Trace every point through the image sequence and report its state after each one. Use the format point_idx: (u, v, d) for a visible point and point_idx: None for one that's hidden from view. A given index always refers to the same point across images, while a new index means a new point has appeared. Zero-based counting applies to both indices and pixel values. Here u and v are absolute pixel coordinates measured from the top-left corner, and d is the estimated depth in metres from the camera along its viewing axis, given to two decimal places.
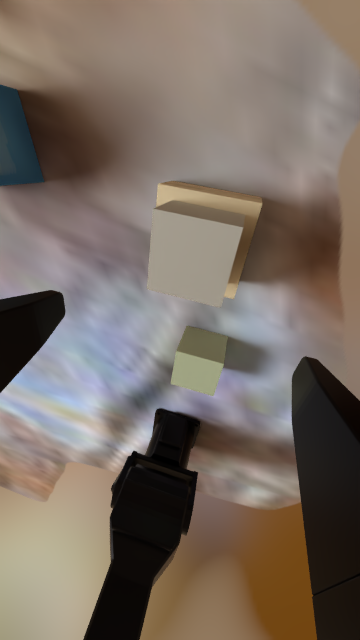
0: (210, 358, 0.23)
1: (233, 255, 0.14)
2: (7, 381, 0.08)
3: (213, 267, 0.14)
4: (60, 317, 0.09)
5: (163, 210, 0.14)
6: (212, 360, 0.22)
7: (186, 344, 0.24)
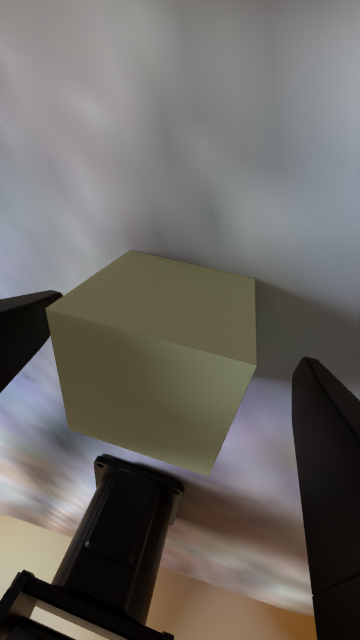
0: (194, 339, 0.05)
1: None
2: (7, 381, 0.08)
3: None
4: None
5: None
6: (203, 348, 0.05)
7: (103, 290, 0.06)
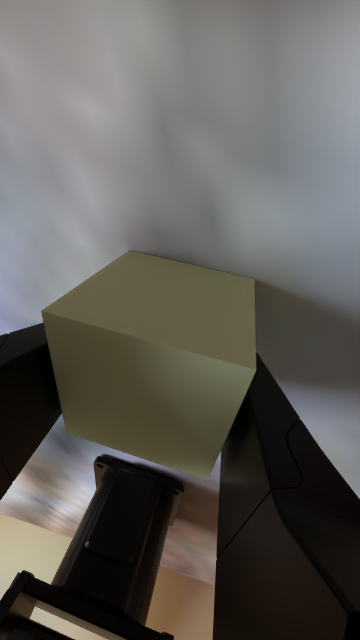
0: (192, 342, 0.05)
1: None
2: None
3: None
4: None
5: None
6: (201, 352, 0.05)
7: (100, 292, 0.06)
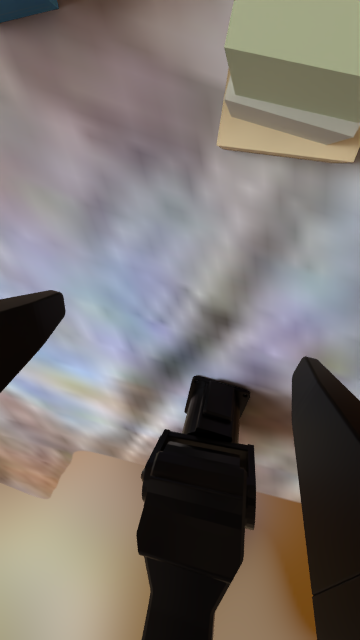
0: None
1: None
2: (7, 381, 0.08)
3: None
4: (60, 317, 0.09)
5: None
6: None
7: None
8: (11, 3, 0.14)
